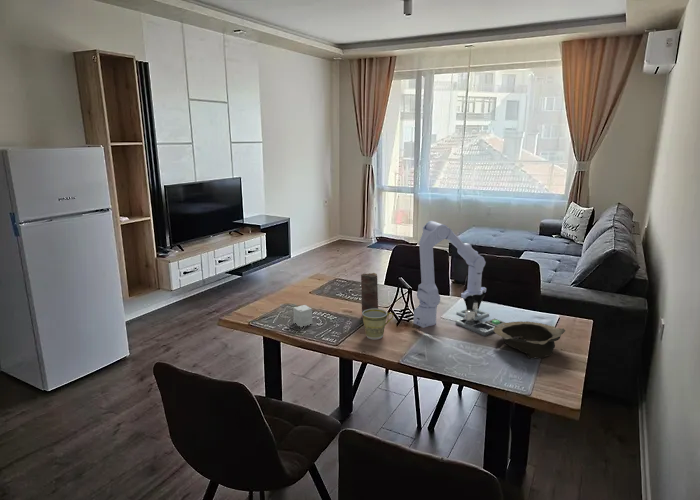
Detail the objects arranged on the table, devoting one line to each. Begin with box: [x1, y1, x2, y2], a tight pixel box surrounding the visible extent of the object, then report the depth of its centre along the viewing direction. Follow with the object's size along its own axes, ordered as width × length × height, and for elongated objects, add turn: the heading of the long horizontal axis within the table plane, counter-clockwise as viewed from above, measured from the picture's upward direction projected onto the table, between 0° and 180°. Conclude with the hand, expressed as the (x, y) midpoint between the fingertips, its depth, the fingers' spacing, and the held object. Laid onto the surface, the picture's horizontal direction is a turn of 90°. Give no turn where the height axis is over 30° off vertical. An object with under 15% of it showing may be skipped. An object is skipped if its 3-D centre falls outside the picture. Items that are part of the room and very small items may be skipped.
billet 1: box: [464, 310, 476, 325], centre depth 191 cm, size 4×4×6 cm
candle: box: [360, 272, 379, 313], centre depth 202 cm, size 8×7×20 cm
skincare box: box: [292, 304, 314, 328], centre depth 196 cm, size 6×6×7 cm
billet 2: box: [472, 301, 478, 317], centre depth 202 cm, size 4×4×6 cm
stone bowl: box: [493, 320, 566, 359], centre depth 172 cm, size 25×25×9 cm
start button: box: [491, 319, 501, 325], centre depth 192 cm, size 3×3×2 cm
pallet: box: [455, 317, 495, 337], centre depth 189 cm, size 8×15×2 cm, turn 36°
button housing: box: [484, 317, 507, 326], centre depth 192 cm, size 6×6×2 cm
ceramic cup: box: [361, 308, 394, 341], centre depth 184 cm, size 13×10×10 cm
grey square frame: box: [456, 308, 490, 320], centre depth 203 cm, size 10×10×2 cm
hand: (472, 310), depth 202 cm, fingers closed on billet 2, 4 cm apart
